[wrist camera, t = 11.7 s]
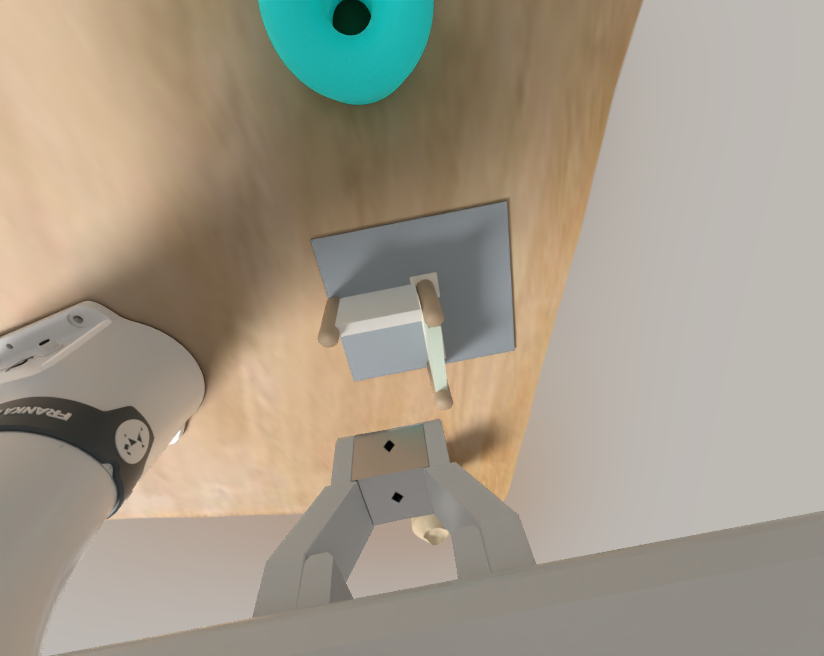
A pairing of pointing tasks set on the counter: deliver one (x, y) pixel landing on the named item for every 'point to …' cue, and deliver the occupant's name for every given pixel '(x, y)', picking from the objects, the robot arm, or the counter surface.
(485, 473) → the counter surface
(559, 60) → the counter surface
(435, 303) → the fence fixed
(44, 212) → the counter surface
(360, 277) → the board
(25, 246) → the counter surface
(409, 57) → the donuts
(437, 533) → the candle
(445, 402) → the fence panel
